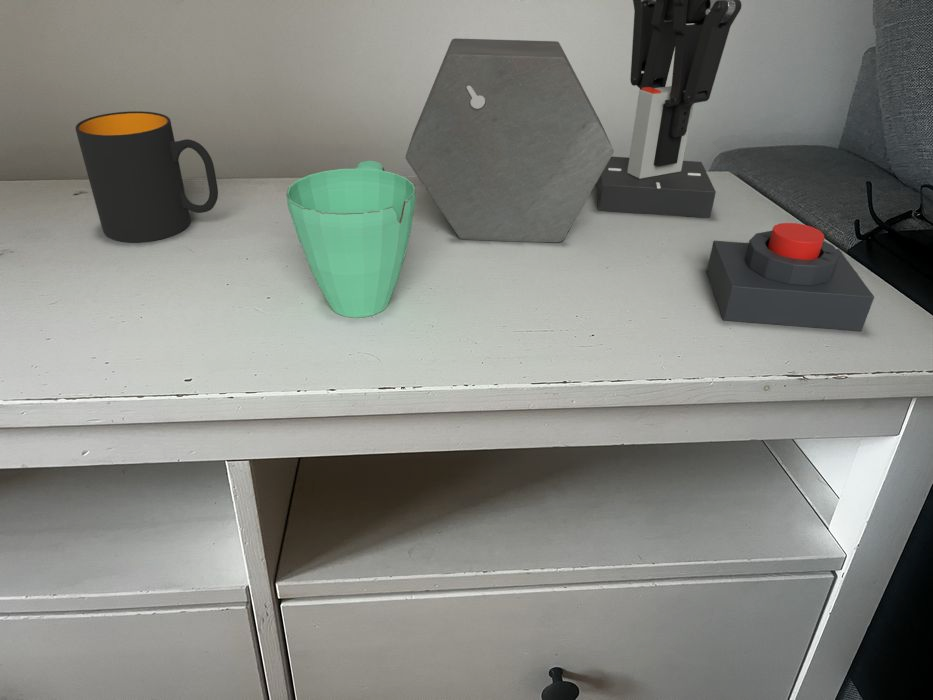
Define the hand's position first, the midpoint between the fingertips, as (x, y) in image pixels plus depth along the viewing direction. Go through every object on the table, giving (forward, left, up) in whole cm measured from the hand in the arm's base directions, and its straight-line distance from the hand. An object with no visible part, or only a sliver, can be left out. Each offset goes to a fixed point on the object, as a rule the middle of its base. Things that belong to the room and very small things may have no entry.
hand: (656, 159), depth 80 cm
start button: (-9, +23, 0) cm, 25 cm away
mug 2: (+27, +27, -5) cm, 38 cm away
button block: (-9, +23, -4) cm, 25 cm away
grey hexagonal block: (+16, +11, -5) cm, 20 cm away
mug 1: (+50, +17, -5) cm, 53 cm away
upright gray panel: (0, 0, -1) cm, 1 cm away
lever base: (0, 0, -4) cm, 4 cm away
